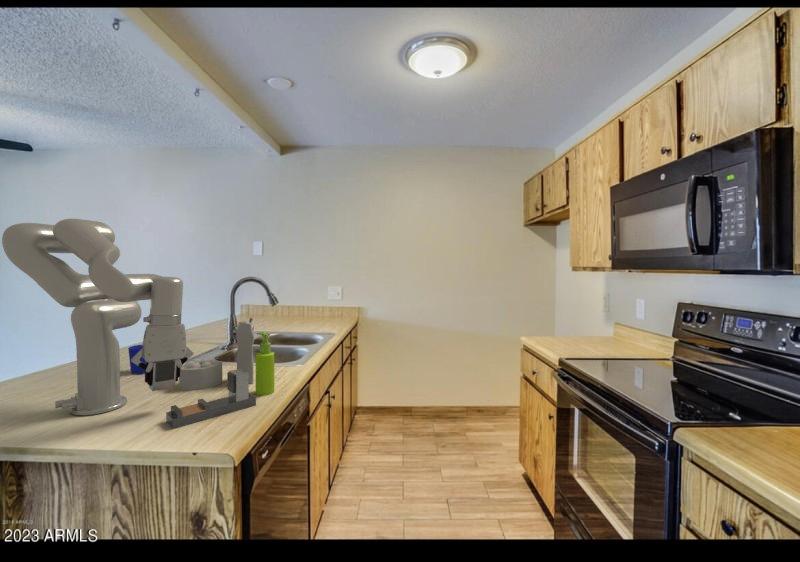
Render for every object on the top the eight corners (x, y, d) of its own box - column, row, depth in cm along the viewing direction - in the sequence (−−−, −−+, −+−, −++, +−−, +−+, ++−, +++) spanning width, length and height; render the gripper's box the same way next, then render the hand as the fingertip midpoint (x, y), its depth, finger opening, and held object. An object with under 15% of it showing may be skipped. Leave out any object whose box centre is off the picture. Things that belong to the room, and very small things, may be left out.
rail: (172, 428, 91) (172, 389, 90) (166, 421, 95) (165, 383, 95) (255, 405, 107) (256, 371, 107) (247, 399, 111) (247, 367, 111)
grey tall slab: (231, 379, 130) (231, 320, 129) (242, 376, 133) (242, 319, 132) (247, 385, 124) (248, 323, 123) (258, 382, 127) (258, 322, 126)
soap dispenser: (266, 387, 123) (267, 330, 122) (277, 391, 118) (278, 333, 117) (250, 391, 118) (250, 332, 117) (261, 396, 114) (261, 335, 113)
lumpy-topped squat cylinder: (226, 382, 126) (226, 359, 126) (188, 393, 116) (188, 367, 115) (210, 377, 132) (210, 354, 132) (172, 386, 121) (172, 362, 121)
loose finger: (149, 387, 100) (150, 359, 100) (171, 383, 104) (173, 357, 104) (152, 391, 97) (154, 363, 97) (175, 387, 102) (177, 360, 101)
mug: (169, 369, 140) (169, 344, 140) (134, 376, 130) (133, 350, 130) (159, 365, 145) (159, 341, 144) (124, 372, 135) (124, 347, 134)
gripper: (131, 324, 91) (128, 392, 92) (203, 320, 104) (199, 380, 105) (125, 319, 96) (122, 384, 97) (194, 316, 109) (191, 373, 110)
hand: (162, 381), depth 101 cm, fingers closed on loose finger, 5 cm apart
